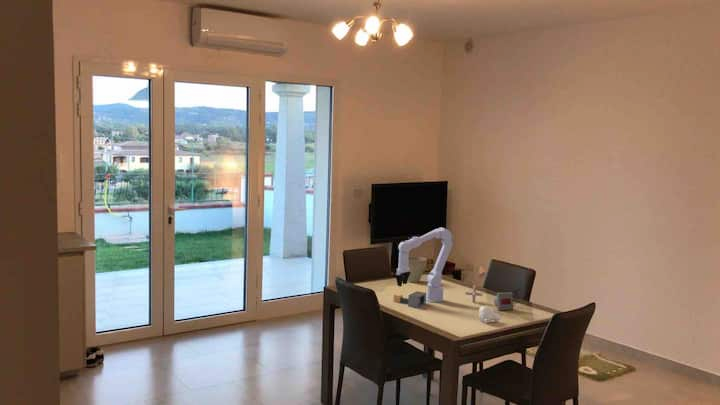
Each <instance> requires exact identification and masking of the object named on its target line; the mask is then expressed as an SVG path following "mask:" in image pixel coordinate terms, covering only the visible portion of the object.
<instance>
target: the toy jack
mask: <svg viewBox="0 0 720 405" xmlns="http://www.w3.org/2000/svg"><path fill="white" fill-rule="evenodd" d="M465 295H467V296H472V298H471V302H472V303H476V297H477V296H478V297H479V296H480V297H483V296H484V293H482V292H477V285H472V291H465Z"/></svg>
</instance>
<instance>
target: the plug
mask: <svg viewBox="0 0 720 405" xmlns="http://www.w3.org/2000/svg"><path fill="white" fill-rule="evenodd" d="M392 301H393V302H395V303H398V304H400V303H401V304H406V305H408V297H406V298H405V297H404V294H400V293H395V294H393V300H392ZM421 305H422V304H421V301H420V306H421Z"/></svg>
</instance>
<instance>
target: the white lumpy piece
mask: <svg viewBox="0 0 720 405" xmlns="http://www.w3.org/2000/svg"><path fill="white" fill-rule="evenodd" d="M478 317H479V320H480V321H481V322H483V323H484V324H485V323H486V324H488V322H489V321H494V322H495V323H498V322H499V320H501V315H500V314H499V313H496V312H494V310H493V309H492V308H491V307H489V306H485V305H484V306H483V305H482V306H480V307H479V310H478ZM486 324H485V325H486Z"/></svg>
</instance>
